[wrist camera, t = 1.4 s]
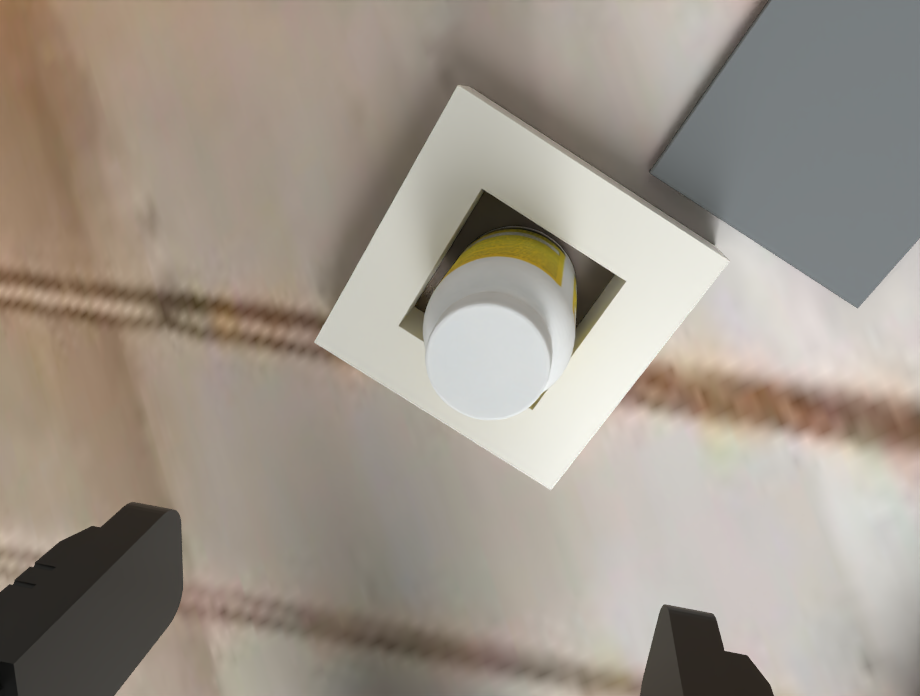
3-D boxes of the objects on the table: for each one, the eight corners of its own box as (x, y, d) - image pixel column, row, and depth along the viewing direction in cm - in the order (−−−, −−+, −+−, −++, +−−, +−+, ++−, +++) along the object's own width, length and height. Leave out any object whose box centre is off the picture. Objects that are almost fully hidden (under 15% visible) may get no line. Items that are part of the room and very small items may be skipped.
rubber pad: (852, 304, 29) (857, 308, 29) (649, 172, 29) (650, 173, 28) (1047, 81, 26) (1058, 81, 25) (819, -73, 25) (825, -77, 25)
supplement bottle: (433, 254, 31) (373, 316, 22) (547, 203, 30) (533, 248, 21) (484, 361, 33) (447, 462, 24) (596, 318, 31) (602, 407, 22)
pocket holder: (553, 457, 34) (550, 490, 31) (336, 321, 33) (313, 342, 30) (715, 246, 29) (729, 261, 27) (469, 86, 29) (458, 84, 26)
